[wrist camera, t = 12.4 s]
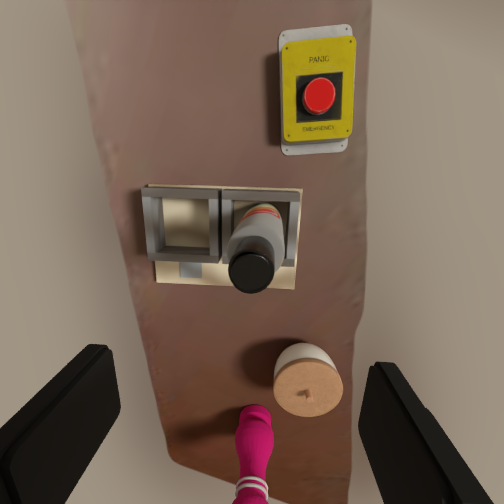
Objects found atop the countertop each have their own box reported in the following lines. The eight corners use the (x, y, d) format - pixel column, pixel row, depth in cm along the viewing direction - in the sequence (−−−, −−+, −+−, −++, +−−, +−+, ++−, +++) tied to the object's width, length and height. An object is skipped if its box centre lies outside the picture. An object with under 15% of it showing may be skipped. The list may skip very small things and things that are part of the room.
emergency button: (282, 154, 33) (279, 13, 29) (281, 156, 38) (278, 33, 33) (355, 149, 33) (363, 4, 28) (345, 151, 37) (351, 25, 32)
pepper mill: (250, 434, 53) (241, 580, 34) (230, 411, 52) (209, 550, 33) (280, 421, 52) (287, 565, 33) (260, 396, 50) (256, 534, 31)
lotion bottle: (250, 197, 38) (224, 229, 19) (287, 208, 38) (297, 252, 19) (240, 232, 40) (207, 294, 21) (275, 243, 40) (273, 314, 21)
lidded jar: (335, 375, 48) (350, 422, 39) (278, 384, 49) (281, 431, 40) (326, 326, 45) (341, 365, 36) (266, 337, 46) (266, 376, 37)
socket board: (151, 183, 39) (134, 185, 34) (301, 188, 38) (306, 190, 33) (159, 279, 44) (146, 292, 39) (293, 286, 43) (296, 300, 38)
